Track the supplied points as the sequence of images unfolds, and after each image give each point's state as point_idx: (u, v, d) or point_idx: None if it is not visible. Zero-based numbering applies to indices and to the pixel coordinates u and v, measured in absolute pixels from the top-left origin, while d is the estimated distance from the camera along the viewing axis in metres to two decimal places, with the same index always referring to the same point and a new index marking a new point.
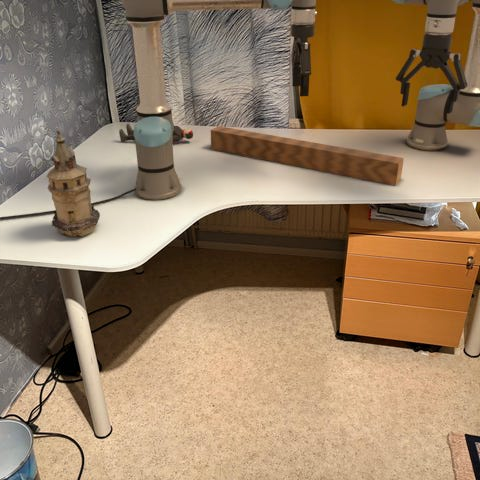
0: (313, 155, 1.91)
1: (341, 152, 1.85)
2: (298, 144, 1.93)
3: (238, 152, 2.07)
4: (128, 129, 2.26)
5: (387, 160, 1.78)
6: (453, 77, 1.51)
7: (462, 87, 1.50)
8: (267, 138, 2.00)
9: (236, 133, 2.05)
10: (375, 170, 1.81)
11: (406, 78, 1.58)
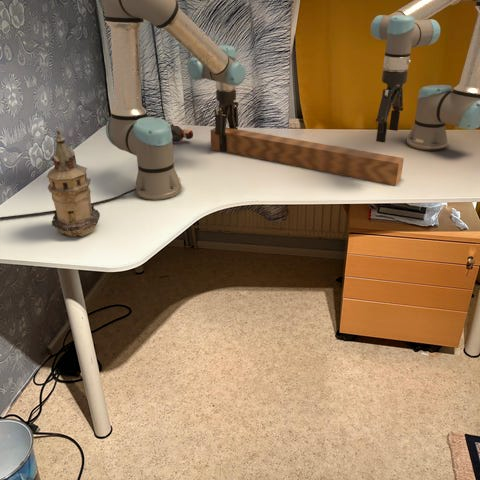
0: (313, 155, 1.91)
1: (341, 152, 1.85)
2: (298, 144, 1.93)
3: (238, 152, 2.07)
4: None
5: (387, 160, 1.78)
6: None
7: (402, 105, 1.79)
8: (267, 138, 2.00)
9: (236, 133, 2.05)
10: (375, 170, 1.81)
11: (387, 117, 1.67)
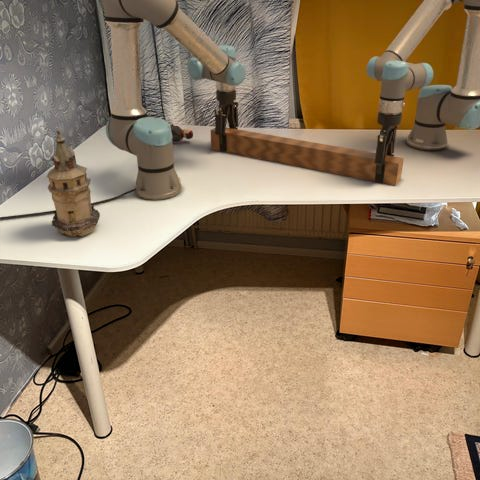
0: (313, 155, 1.91)
1: (341, 152, 1.85)
2: (298, 144, 1.93)
3: (238, 152, 2.07)
4: None
5: (387, 160, 1.78)
6: None
7: (393, 152, 1.84)
8: (267, 138, 2.00)
9: (236, 133, 2.05)
10: (375, 170, 1.81)
11: (384, 159, 1.76)
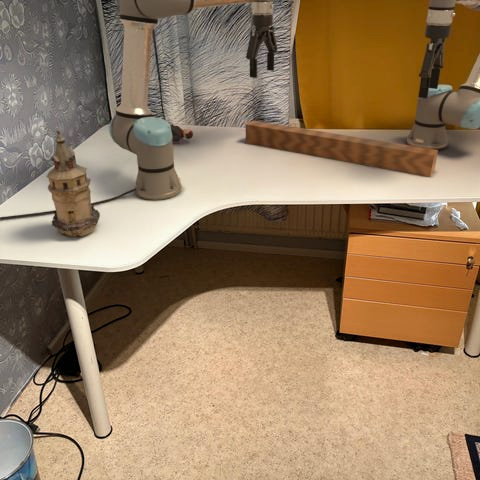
0: (348, 148, 1.97)
1: (376, 145, 1.92)
2: (333, 137, 1.99)
3: (273, 145, 2.13)
4: None
5: (422, 152, 1.84)
6: None
7: (442, 63, 1.79)
8: (302, 131, 2.06)
9: (271, 127, 2.11)
10: (410, 162, 1.87)
11: (430, 71, 1.67)
